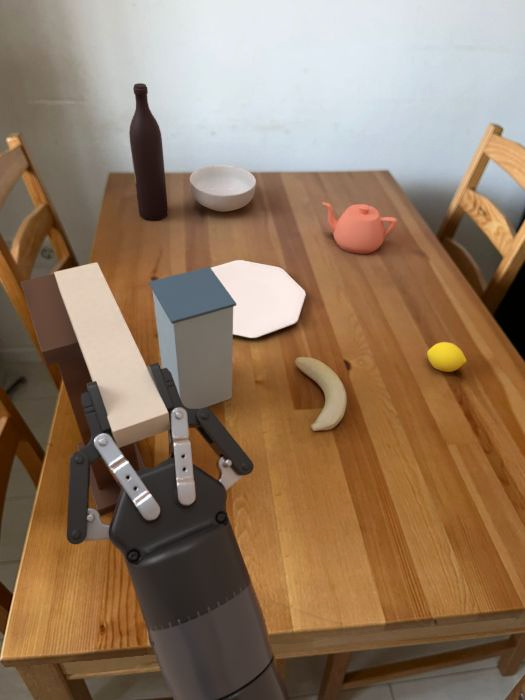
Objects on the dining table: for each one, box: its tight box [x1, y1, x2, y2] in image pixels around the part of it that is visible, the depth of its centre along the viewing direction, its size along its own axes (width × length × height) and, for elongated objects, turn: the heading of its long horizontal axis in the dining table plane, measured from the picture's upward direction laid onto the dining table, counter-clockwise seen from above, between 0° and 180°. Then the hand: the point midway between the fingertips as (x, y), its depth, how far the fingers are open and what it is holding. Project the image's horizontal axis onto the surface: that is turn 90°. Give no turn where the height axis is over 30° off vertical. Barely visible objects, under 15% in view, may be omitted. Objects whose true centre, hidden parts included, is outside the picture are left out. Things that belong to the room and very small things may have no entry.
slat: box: [53, 261, 171, 448], centre depth 43 cm, size 4×20×2 cm, turn 27°
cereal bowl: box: [189, 164, 257, 213], centre depth 131 cm, size 17×17×7 cm
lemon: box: [426, 341, 467, 373], centre depth 93 cm, size 7×5×5 cm
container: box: [148, 266, 236, 409], centre depth 81 cm, size 10×10×21 cm
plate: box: [210, 259, 307, 340], centre depth 105 cm, size 24×24×2 cm
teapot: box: [321, 201, 399, 255], centre depth 121 cm, size 12×18×10 cm
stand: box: [20, 273, 147, 516], centre depth 65 cm, size 8×12×32 cm, turn 27°
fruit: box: [294, 356, 348, 432], centre depth 87 cm, size 7×15×3 cm, turn 9°
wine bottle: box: [128, 82, 169, 221], centre depth 118 cm, size 7×7×30 cm
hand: (122, 376), depth 38 cm, fingers closed on slat, 4 cm apart
